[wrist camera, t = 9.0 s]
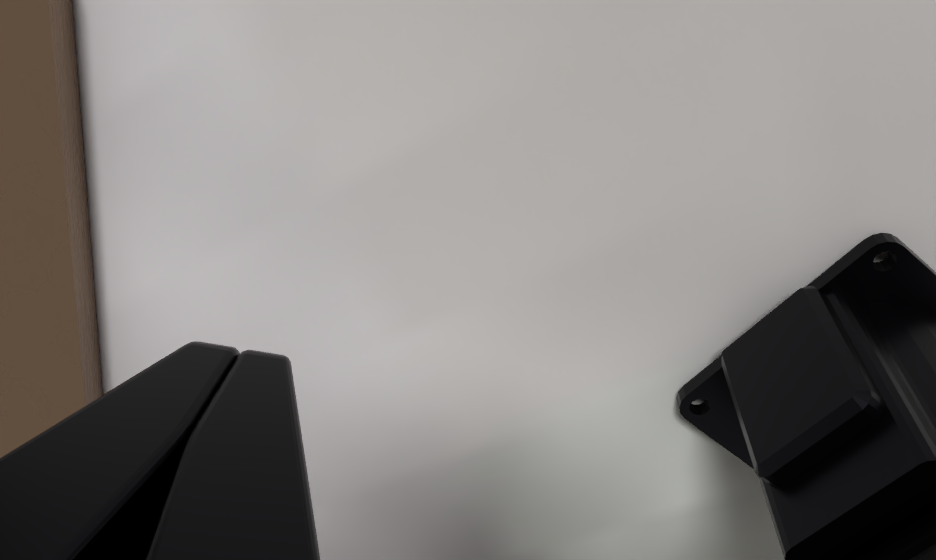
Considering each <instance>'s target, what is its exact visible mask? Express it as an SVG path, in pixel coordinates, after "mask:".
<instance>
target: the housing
mask: <svg viewBox="0 0 936 560" xmlns="http://www.w3.org/2000/svg"><path fill="white" fill-rule="evenodd" d="M102 395H103V394H102V381H101V369H100V356H99V343H98V330H97V317H96V304H95V291H94V278H93V266H92V253H91V240H90V227H89V214H88V201H87V188H86V176H85V163H84V150H83V137H82V124H81V111H80V98H79V85H78V73H77V60H76V47H75V34H74V21H73V8H72V0H0V458H1V457H3V456H4V455H6V454H8V453H9V452H11V451H13V450H14V449H16V448H17V447H19V446H21V445H22V444H24V443H26V442H27V441H29V440H31V439H32V438H34V437H35V436H37V435H39V434H40V433H42V432H44V431H45V430H47V429H48V428H50V427H52V426H53V425H55V424H57V423H58V422H60V421H62V420H63V419H65V418H66V417H68V416H70V415H71V414H73V413H75V412H76V411H78V410H80V409H81V408H83V407H84V406H86V405H88V404H89V403H91V402H93V401H94V400H96V399H98V398H99V397H101V396H102Z"/></svg>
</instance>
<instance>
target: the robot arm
mask: <svg viewBox="0 0 936 560" xmlns="http://www.w3.org/2000/svg"><path fill="white" fill-rule="evenodd" d="M887 251H890V255H889V256H888V257H887V259H885V260H883V261H881V262H873V259H874V258H875V257H876V256H877V255H878V254H880V253H882V252H887ZM697 399H704V400H706V401H705V402H704V403H702V404H699V405H694V404H691V403H692V401H695V400H697ZM677 400H678V405H679V409H680V413H681V415H682V416H683V417H684V418H685V419H686V420H688V421H689V422H690V423H692V424H693V425H694V426H696V427H697V428H698V429H700V430H701V431H703V432H704V433H705V434H707V435H708V436H709V437H711V438H712V439H714V440H715V441H716V442H718V443H719V444H720V445H722V446H723V447H724V448H726V449H727V450H729V451H730V452H731V453H733V454H734V455H735V456H737V457H738V458H739V459H741V460H742V461H744V462H745V463H746V464H748V465H749V466H750V467H752V468H753V469H754V470H755V473H756V474H757V475H758V477H759V479H760V482H761V485H762V488H763V492H764V495H765V498H766V501H767V504H768V507H769V511H770V514H771V517H772V520H773V523H774V526H775V529H776V533H777V536H778V539H779V542H780V545H781V548H782V552H783V555H784V558H785V560H936V272H935V271H934V270H933V269H931V268H930V267H929V266H928V265H927V264H926V263H925V262H924V261H923V260H921V259H920V258H919V257H918V256H917V255H916V254H915V253H914V252H913V251H912V250H910V249H909V248H908V247H907V246H906V245H905V244H904V243H903V242H902V241H900V240H899V239H898V238H897V237H895V236H893V235H892V234H887V233H879V234H875V235H872V236H870V237H868V238H866V239H865V240H863V241H862V242H861V243H860V244H858V245H857V246H856V247H855V248H853V249H852V250H851V251H850V252H848V253H847V254H846V255H845V256H844V257H842V258H841V259H840V260H839V261H837V262H836V263H835V264H834V265H832V266H831V267H830V268H829V269H827V270H826V271H825V272H824V273H823V274H821V275H820V276H819V277H818V278H816V279H815V280H814V281H813V282H811V283H810V284H809V285H808V286H806V287H804V288H801V289H799V290H797V291H796V292H795V293H794V294H793V295H791V296H790V297H789V298H788V299H786V300H785V301H784V302H783V303H781V304H780V305H779V306H778V307H777V308H775V309H774V310H773V311H772V312H770V313H769V314H768V315H767V316H765V317H764V318H763V319H762V320H761V321H759V322H758V323H757V324H756V325H754V326H753V327H752V328H751V329H749V330H748V331H747V332H746V333H745V334H743V335H742V336H741V337H740V338H738V339H737V340H736V341H735V342H733V343H732V344H731V345H730V346H728V347H727V348H726V349H725V350H724V351H723V352H722V355H721V356H720V357H719V358H718V359H716V360H715V361H714V362H713V363H711V364H710V365H709V366H708V367H706V368H705V369H704V370H703V371H701V372H700V373H699V374H698V375H697V376H695V377H694V378H693V379H692V380H690V381H689V382H688V383H687V384H685V385H684V386H683V387H682V388H681V389H680V391H679V392H678V396H677ZM0 560H320V555H319V548H318V542H317V535H316V528H315V522H314V515H313V508H312V502H311V495H310V488H309V482H308V475H307V468H306V462H305V455H304V448H303V442H302V435H301V428H300V422H299V415H298V408H297V402H296V395H295V388H294V382H293V375H292V368H291V362H290V360H289V358H287V357H286V356H284V355H279V354H273V353H266V352H260V351H254V350H246V351H243V352H241V354H240V353H239V351H238V350H237V349H236V348H234V347H229V346H223V345H217V344H211V343H204V342H191V343H188V344H186V345H184V346H183V347H181V348H179V349H178V350H176V351H174V352H173V353H171V354H170V355H168V356H166V357H165V358H163V359H161V360H160V361H158V362H156V363H155V364H153V365H152V366H150V367H148V368H147V369H145V370H143V371H142V372H140V373H138V374H137V375H135V376H134V377H132V378H130V379H129V380H127V381H125V382H124V383H122V384H120V385H119V386H117V387H116V388H114V389H112V390H111V391H109V392H107V393H106V394H104V395H102V396H101V397H99V398H98V399H96V400H94V401H93V402H91V403H89V404H88V405H86V406H84V407H83V408H81V409H80V410H78V411H76V412H75V413H73V414H71V415H70V416H68V417H66V418H65V419H63V420H62V421H60V422H58V423H57V424H55V425H53V426H52V427H50V428H48V429H47V430H45V431H44V432H42V433H40V434H39V435H37V436H35V437H34V438H32V439H31V440H29V441H27V442H26V443H24V444H22V445H21V446H19V447H17V448H16V449H14V450H13V451H11V452H9V453H8V454H6V455H4V456H3V457H1V458H0Z"/></svg>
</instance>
